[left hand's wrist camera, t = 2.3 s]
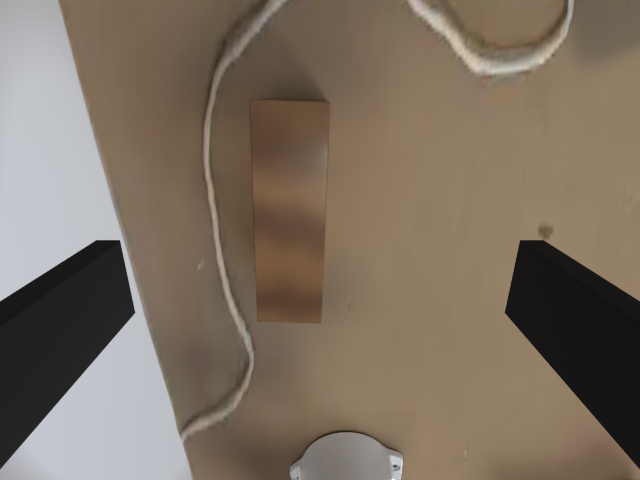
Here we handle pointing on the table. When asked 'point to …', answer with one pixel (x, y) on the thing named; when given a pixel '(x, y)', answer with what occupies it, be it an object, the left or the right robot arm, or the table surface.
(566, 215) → the table surface
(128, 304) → the left robot arm
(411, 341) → the table surface
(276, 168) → the box
